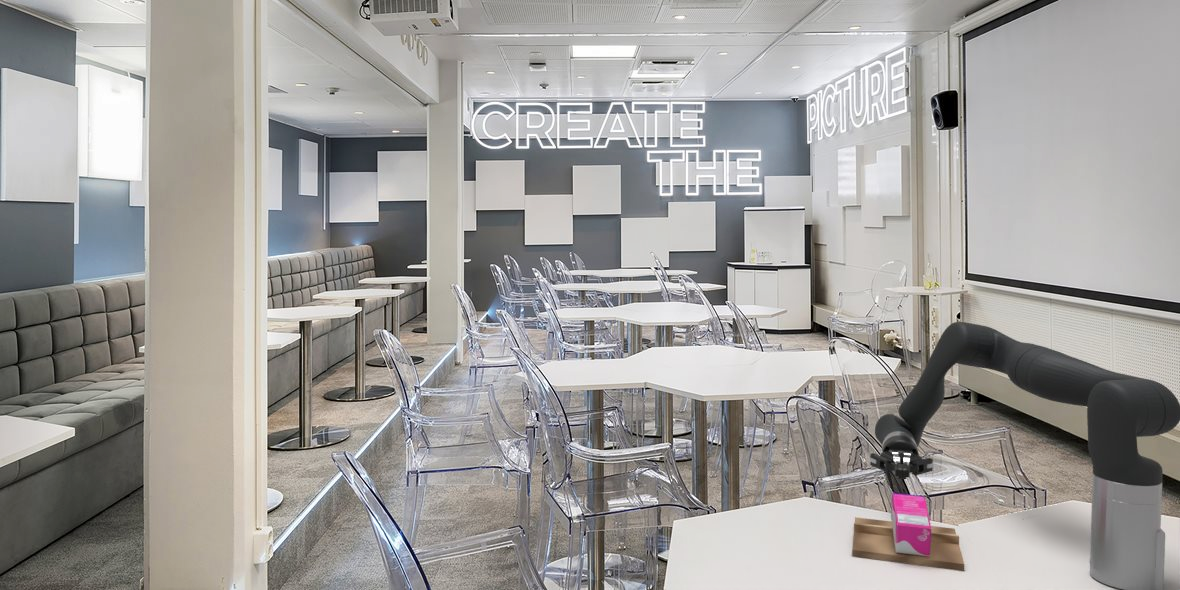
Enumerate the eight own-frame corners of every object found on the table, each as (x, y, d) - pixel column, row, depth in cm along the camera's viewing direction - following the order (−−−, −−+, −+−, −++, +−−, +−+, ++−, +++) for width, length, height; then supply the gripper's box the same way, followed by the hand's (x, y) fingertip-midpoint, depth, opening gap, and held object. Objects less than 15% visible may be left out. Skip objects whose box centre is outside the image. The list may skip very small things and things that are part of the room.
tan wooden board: (954, 534, 141) (954, 520, 141) (964, 571, 126) (964, 555, 125) (854, 523, 148) (855, 509, 148) (852, 556, 132) (852, 541, 132)
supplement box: (924, 522, 139) (930, 558, 128) (890, 518, 141) (893, 553, 130) (926, 495, 137) (931, 528, 127) (892, 491, 139) (894, 524, 129)
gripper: (868, 432, 168) (867, 453, 152) (932, 437, 163) (938, 459, 147) (868, 464, 168) (867, 488, 152) (931, 470, 163) (937, 496, 147)
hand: (902, 474), depth 149 cm, fingers closed
